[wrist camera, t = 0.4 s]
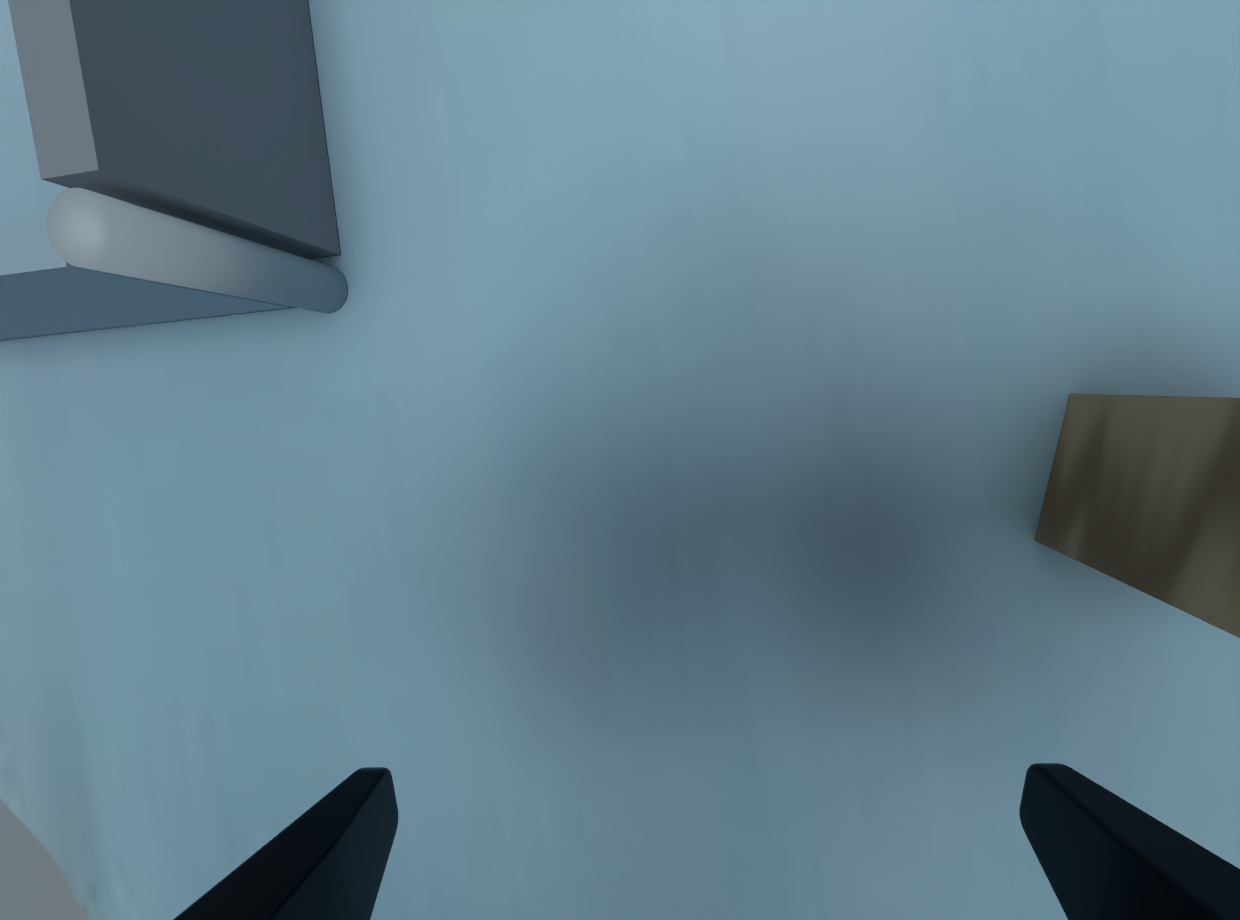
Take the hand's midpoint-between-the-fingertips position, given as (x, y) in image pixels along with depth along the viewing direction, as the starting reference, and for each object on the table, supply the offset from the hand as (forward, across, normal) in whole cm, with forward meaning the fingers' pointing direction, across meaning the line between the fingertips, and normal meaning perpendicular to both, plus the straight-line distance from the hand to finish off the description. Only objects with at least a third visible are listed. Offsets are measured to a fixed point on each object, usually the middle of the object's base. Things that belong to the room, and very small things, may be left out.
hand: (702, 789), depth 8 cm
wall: (+18, +13, -15) cm, 27 cm away
